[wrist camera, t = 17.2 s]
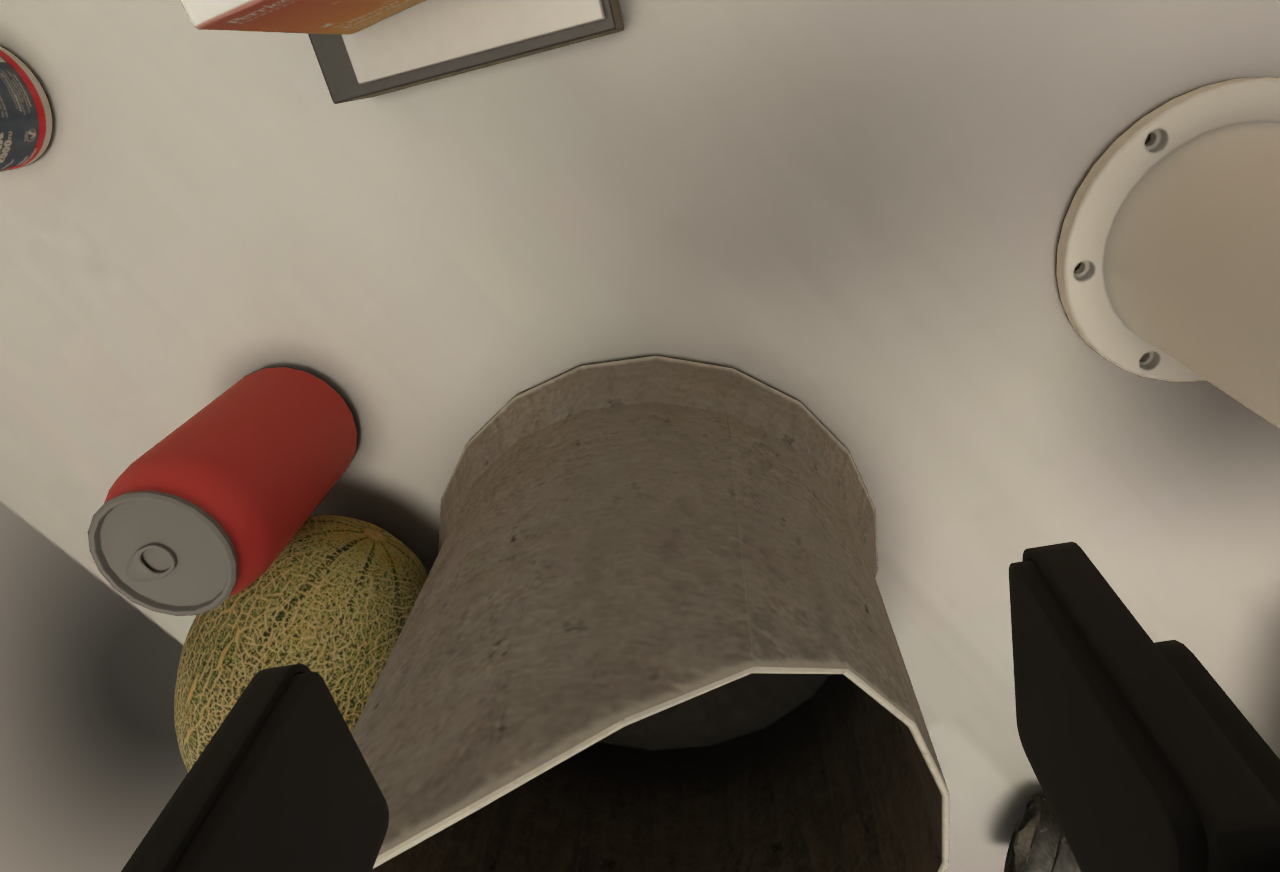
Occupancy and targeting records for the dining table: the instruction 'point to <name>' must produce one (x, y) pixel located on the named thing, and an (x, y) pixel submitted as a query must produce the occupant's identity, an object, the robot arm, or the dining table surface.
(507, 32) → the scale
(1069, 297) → the robot arm
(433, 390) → the dining table surface
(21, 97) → the pill bottle
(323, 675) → the fruit
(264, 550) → the beer can
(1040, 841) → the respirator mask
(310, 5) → the small box
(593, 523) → the grey fabric bucket
